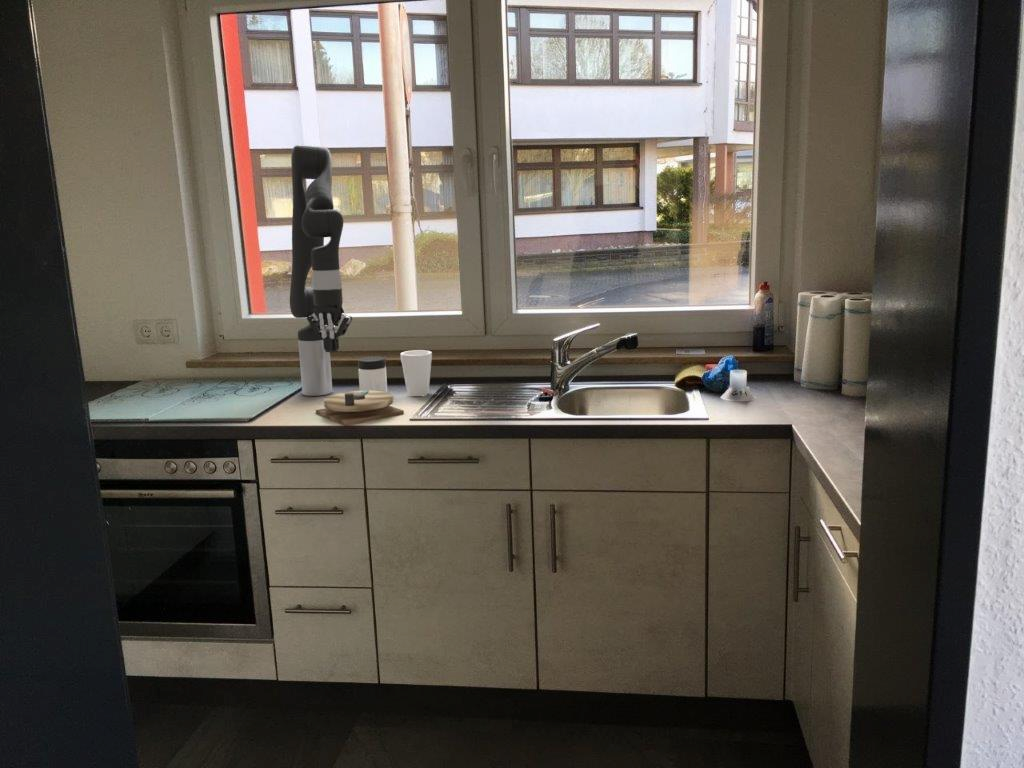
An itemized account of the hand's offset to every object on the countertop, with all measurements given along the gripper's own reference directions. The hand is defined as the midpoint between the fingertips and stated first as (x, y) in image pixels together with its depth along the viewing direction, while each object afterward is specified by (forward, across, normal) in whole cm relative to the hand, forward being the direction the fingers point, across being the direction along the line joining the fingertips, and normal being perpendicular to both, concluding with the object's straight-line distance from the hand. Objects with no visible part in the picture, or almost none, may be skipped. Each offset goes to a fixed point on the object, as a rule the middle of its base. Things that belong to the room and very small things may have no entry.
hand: (331, 351), depth 223 cm
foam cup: (+19, +7, +34) cm, 40 cm away
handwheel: (+16, +2, +8) cm, 18 cm away
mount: (+19, +2, +8) cm, 21 cm away
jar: (+19, -4, +27) cm, 33 cm away
